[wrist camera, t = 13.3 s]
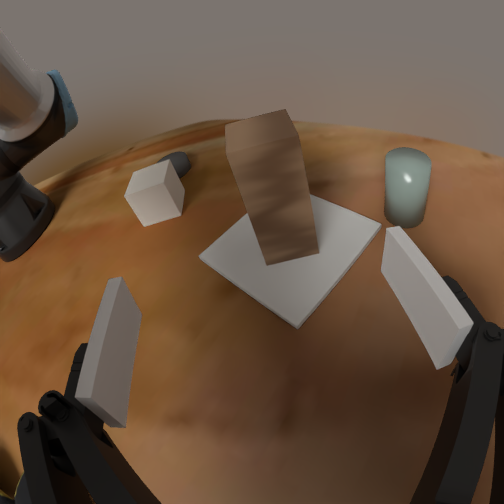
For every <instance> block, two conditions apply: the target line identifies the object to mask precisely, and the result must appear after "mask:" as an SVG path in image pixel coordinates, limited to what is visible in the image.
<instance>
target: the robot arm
mask: <svg viewBox="0 0 504 504" xmlns="http://www.w3.org/2000/svg"><path fill="white" fill-rule="evenodd" d="M77 123H78V116H77V112H76V110H75V107H74V105H73V103H72V100H71V97H70V94H69V92H68V90H67V88H66V85H65V83H64V81H63V79H62V77H61V75H60V73H59V72H58V71H57V70H52V71H50V72H47V73H45V72H43V71H41V70H36V69H30V68H29V67H28V65H27V64H26V63H25V61H24V60H23V58H22V57H21V56H20V54H19V53H18V52H17V50H16V49H15V48H14V46H13V45H12V43H11V42H10V41H9V39H8V38H7V36H6V35H5V33H4V32H3V31H2V29H1V28H0V258H1V259H2V260H3V261H5V262H9V261H12V260H14V259H16V258H17V257H19V256H20V255H21V254H22V253H24V252H25V251H26V250H27V249H28V248H29V247H30V246H31V245H32V244H33V243H34V242H35V241H36V240H37V238H38V237H39V236H40V235H41V233H42V232H43V231H44V229H45V228H46V226H47V225H48V223H49V222H50V220H51V218H52V216H53V213H54V209H55V206H54V204H53V202H52V201H51V200H50V198H49V197H48V196H47V195H45V194H44V193H42V192H41V191H40V190H38V189H37V188H35V187H34V186H32V185H31V184H29V183H28V182H27V181H26V180H25V179H24V178H23V176H22V175H21V174H20V172H19V170H21V169H22V168H23V167H24V166H25V165H26V164H27V163H29V162H30V161H31V160H33V159H34V158H35V157H36V156H38V155H39V154H40V153H42V152H43V151H44V150H45V149H47V148H48V147H49V146H51V145H52V144H54V143H55V142H56V141H58V140H59V139H60V138H63V137H65V136H66V134H67V133H68V132H70V131H71V130H72V129H74V128H75V127H76V125H77ZM381 272H382V274H383V275H384V277H385V278H386V280H387V282H388V283H389V285H390V287H391V288H392V290H393V292H394V293H395V295H396V297H397V298H398V300H399V302H400V303H401V305H402V307H403V308H404V310H405V312H406V314H407V315H408V317H409V319H410V321H411V322H412V324H413V326H414V328H415V329H416V331H417V333H418V335H419V337H420V339H421V340H422V342H423V344H424V346H425V348H426V350H427V352H428V354H429V355H430V357H431V359H432V361H433V363H434V365H435V367H436V369H440V368H442V367H445V366H447V365H449V364H451V362H452V361H453V359H454V358H455V356H456V358H457V360H458V363H457V365H456V366H455V368H454V369H453V371H452V373H451V375H450V376H453V374H454V373H455V375H454V379H453V384H452V388H451V392H450V396H449V399H448V403H447V407H446V410H445V414H444V417H443V420H442V424H441V427H440V430H439V433H438V436H437V439H436V442H435V445H434V447H433V450H432V453H431V455H430V458H429V461H428V463H427V466H426V468H425V471H424V473H423V475H422V478H421V480H420V482H419V485H418V487H417V489H416V491H415V493H414V496H413V498H412V500H411V502H410V504H470V503H471V500H472V497H473V494H474V492H475V489H476V486H477V483H478V480H479V477H480V474H481V471H482V467H483V464H484V460H485V457H486V453H487V449H488V446H489V441H490V437H491V433H492V428H493V423H494V418H495V456H494V470H493V480H492V489H491V496H490V503H489V504H504V329H501V328H500V327H498V326H497V325H496V324H494V323H492V322H486V321H485V320H484V318H483V317H482V315H481V314H480V313H479V311H478V310H477V308H476V307H475V306H474V304H473V303H472V301H471V300H470V299H469V298H468V296H467V295H466V293H465V292H463V289H462V288H461V287H460V285H459V284H458V283H457V282H456V281H455V280H454V279H452V278H451V277H449V276H444V277H441V276H440V275H439V274H438V272H437V271H436V270H435V268H434V267H433V266H432V265H431V263H430V262H429V261H428V260H427V258H426V257H425V256H424V255H423V253H422V252H421V251H420V250H419V248H418V247H417V246H416V245H415V244H414V242H413V241H412V240H411V239H410V238H409V236H408V235H407V234H406V233H405V232H404V231H403V229H402V228H401V227H400V226H396V227H391V228H386V237H385V245H384V252H383V259H382V266H381ZM141 318H142V313H141V312H140V310H139V308H138V306H137V304H136V302H135V301H134V299H133V297H132V295H131V293H130V291H129V289H128V287H127V285H126V283H125V281H124V280H123V278H122V277H117V278H112V279H109V280H108V283H107V286H106V289H105V292H104V294H103V297H102V300H101V303H100V306H99V310H98V313H97V316H96V319H95V322H94V325H93V329H92V332H91V336H90V339H89V342H88V343H82V344H81V345H80V347H79V348H78V350H77V351H76V353H75V356H74V360H73V364H72V367H71V372H70V374H69V378H68V382H67V386H66V390H65V394H64V396H63V395H62V394H60V393H59V392H58V391H55V390H52V391H48V392H47V393H45V394H44V395H43V396H42V397H41V399H40V401H39V405H38V410H39V413H40V414H41V415H42V416H40V417H38V416H36V415H35V414H34V413H32V412H27V413H25V414H23V415H22V416H21V417H20V419H19V421H18V427H17V429H18V437H19V445H20V451H21V457H22V463H23V468H24V473H25V478H26V482H27V487H28V491H29V495H30V499H31V502H32V504H92V502H91V499H90V497H89V494H88V492H89V493H90V495H91V496H92V498H93V499H94V501H95V502H96V504H161V502H160V501H159V500H158V499H157V498H156V497H155V496H154V495H153V493H152V492H151V491H150V490H149V489H148V487H147V486H146V485H145V484H144V483H143V481H142V480H141V479H140V478H139V476H138V475H137V474H136V473H135V471H134V470H133V469H132V467H131V466H130V465H129V463H128V462H127V461H126V459H125V458H124V457H123V455H122V454H121V453H120V451H119V450H118V448H117V447H116V445H115V444H114V443H113V441H112V440H111V438H110V437H109V435H108V434H107V432H106V431H105V430H104V429H103V424H104V422H105V423H106V424H107V425H108V426H110V427H118V428H126V421H127V411H128V402H129V394H130V387H131V379H132V372H133V365H134V359H135V353H136V346H137V341H138V335H139V329H140V324H141ZM86 488H87V489H86ZM87 490H88V491H87Z"/></svg>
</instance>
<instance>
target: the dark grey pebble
mask: <svg viewBox="0 0 504 504" xmlns="http://www.w3.org/2000/svg"><path fill="white" fill-rule="evenodd" d="M168 159H170V161H171V163H172V165H173V167H174V169H175V171H176V173H177V175H178V177H179V178H181V177H182V176H184V175H185V174H186V173H187V172H188V171H189V170H190V167H191V164H190V162H189V160H188V158H187V155H186V153H185V152H174V153H171V154H169V155H167V156H165V157H163V158H162V159H160V160H159V161H158V162H157V163H160V162H162V161H165V160H168ZM157 163H156V164H157Z"/></svg>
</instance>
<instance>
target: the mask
mask: <svg viewBox="0 0 504 504" xmlns="http://www.w3.org/2000/svg"><path fill="white" fill-rule="evenodd" d="M14 499H15V500H14ZM14 499H12V498H11V497H9V496H8V495H7V494H5V493H4V492H3V491H2V490H1V489H0V504H32V502H31V499H30V495H29V491H28V487H27V482H26V478H25V473H24V472H23V474H22V476H21V478H20V480H19V483H18V485H17V488H16V492H15V496H14Z"/></svg>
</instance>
